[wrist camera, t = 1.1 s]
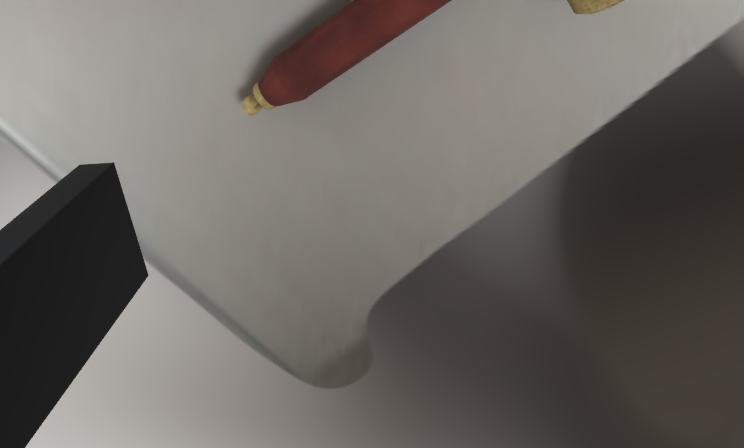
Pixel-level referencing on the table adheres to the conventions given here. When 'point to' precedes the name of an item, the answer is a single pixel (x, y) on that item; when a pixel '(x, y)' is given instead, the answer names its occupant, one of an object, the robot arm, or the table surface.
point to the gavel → (349, 46)
